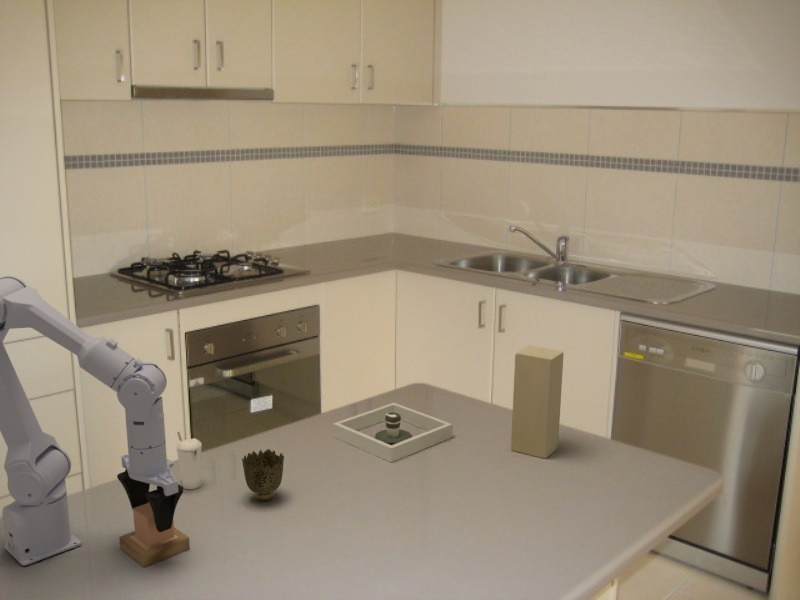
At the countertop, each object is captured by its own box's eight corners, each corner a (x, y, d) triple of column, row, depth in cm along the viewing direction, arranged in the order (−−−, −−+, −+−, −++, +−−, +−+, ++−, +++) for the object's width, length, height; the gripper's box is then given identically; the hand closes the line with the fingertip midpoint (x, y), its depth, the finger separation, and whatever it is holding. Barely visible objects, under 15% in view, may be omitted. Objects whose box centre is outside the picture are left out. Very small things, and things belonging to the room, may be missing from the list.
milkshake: (191, 477, 163) (188, 428, 160) (209, 485, 160) (206, 435, 157) (171, 485, 159) (168, 435, 157) (189, 493, 156) (185, 443, 154)
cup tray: (391, 462, 169) (391, 448, 169) (333, 436, 182) (333, 423, 181) (452, 437, 181) (452, 424, 181) (393, 415, 194) (393, 402, 193)
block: (149, 547, 134) (146, 518, 133) (135, 536, 137) (132, 508, 136) (174, 536, 137) (172, 508, 136) (160, 526, 140) (158, 499, 139)
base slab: (144, 567, 132) (143, 555, 132) (120, 548, 138) (119, 536, 137) (189, 548, 137) (189, 537, 137) (164, 530, 143) (163, 519, 142)
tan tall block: (560, 446, 177) (565, 350, 172) (546, 459, 171) (551, 359, 166) (525, 438, 181) (528, 344, 176) (510, 450, 175) (513, 353, 170)
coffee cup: (421, 447, 176) (421, 425, 174) (363, 447, 176) (362, 425, 175) (420, 425, 187) (420, 404, 186) (366, 425, 187) (365, 404, 186)
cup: (293, 497, 155) (292, 456, 153) (261, 511, 149) (259, 469, 147) (268, 485, 160) (266, 445, 158) (235, 498, 154) (233, 457, 152)
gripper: (193, 448, 131) (198, 528, 134) (147, 422, 141) (152, 497, 144) (151, 461, 126) (157, 544, 129) (106, 434, 136) (113, 511, 139)
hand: (152, 520), depth 136 cm, fingers open, 7 cm apart
